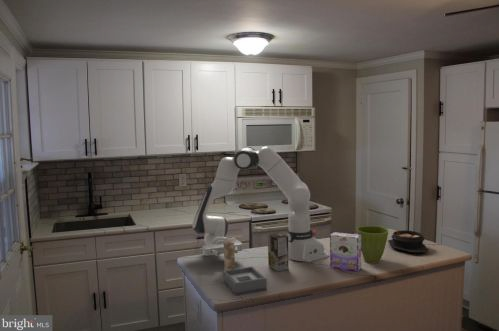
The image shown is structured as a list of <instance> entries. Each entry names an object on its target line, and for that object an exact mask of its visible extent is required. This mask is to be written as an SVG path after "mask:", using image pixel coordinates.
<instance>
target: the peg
mask: <svg viewBox="0 0 499 331" xmlns="http://www.w3.org/2000/svg"><path fill="white" fill-rule="evenodd" d="M235 262H236V260H235V253H234V242H233V241H225V242H224V253H223V265H224V267H223V268H224V270H223V271H226V270H232V269H236V263H235Z"/></svg>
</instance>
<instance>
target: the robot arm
mask: <svg viewBox="0 0 499 331" xmlns="http://www.w3.org/2000/svg"><path fill="white" fill-rule="evenodd" d="M257 166H259V168H261V169H262V170H263V171H264V172H265V174H267V176H268V177H269V178H270V179H271V181H273V183H274V184H275V185H276V186H277V187H278V188H279V190H280V191H281V193H282V194H283V195H284V196H285V198H286V199H287V205H288V206H287V207H288V208H287V211H288V214H287V215H288V217H287V218H288V229H287V236H288V260H291V261H296V262H297V261H300V262H305V263H309V262H313V261H318V260H320V259H321V260H322V259H324V258H328V257H329V258H330V253H328V252H327V251H326V250H325V248H324V244H323V243H322V242H321V241H320V240H318V239H317V238H316V237H315V236H317V234H318V232H317V231H316V230H312V229H311V212H310V199H311V191H310V189H309V187H308V185H307V184H306V183H305V182H303V181H302V180H301V178H300V177H298V175H297V174H296V173H295V171H294V170H293V168H291V166H289V165H288V163H286V162H285V160H284V159H283V158H282V157H281V156H280V155H279V154H278V152H276V151H275V150H274V149H272V148H271V147H270V146H262V147H260V148H259V149H258V150H256V149H254V148H253V147H250V146H245V147H242V148H240V149H238V150H237V151H236V153H235V154H234V156H231V157H230V156H225V157H223V158H221V159H220V161H219V164H218V167H217V169H216V173H215V177H214V179H213V180H214V181H213V182H212V183H211V184H210V185H208V186H207V187H206V189H205V191H204V193H203V196H202V198H201V200H200V204H199V206H198V209H197V211H196V214H195V216H194V217H193V220H192V230H193V231H194V232H195V233H196V234H198V235H202V234H203V235H204V238H203V239H204V243H205V244H204V245H203V246H202V247H200V251H201V252H202V254H203V255H204V256H206V257H207V256H208V257H209V256H216V257H219V256H220V255H222V254H223V255H224V242H225V241H233V242H234V254H238V252H242V251H244V246H243V245H244V244H243V243H242V242H241V241H240V240H238V239H236V238H235V237H233V236H230V237H229V236H228V237H227V235H228V231H229V223H228V221H227V219H226V218H225V217H224V216H222V215H208V214H207V212H208V209H209V207H210V205H211V202H212V201H213V200H215V199H217V198H220V197H224V196H227V195H229V194H231V193H232V192H234V190H235V188H236V184H237V179H238V174H239V171H240V170H242V171H248V170H250V169H253V168H255V167H257Z"/></svg>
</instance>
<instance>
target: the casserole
mask: <svg viewBox="0 0 499 331" xmlns="http://www.w3.org/2000/svg"><path fill="white" fill-rule="evenodd" d="M424 241H425V237H424V235H423V234H422V233H421V232H418V231H415V230H396V231H394V232H393V234H392V235H391V239H387V243H389V246H390V247H392V248H393V249H397V250H399V251H402V252H409V253H413V254H415V253H427V252H428V251H430V249H429V248H428V247H427V246H426V245H425V244H424Z"/></svg>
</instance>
